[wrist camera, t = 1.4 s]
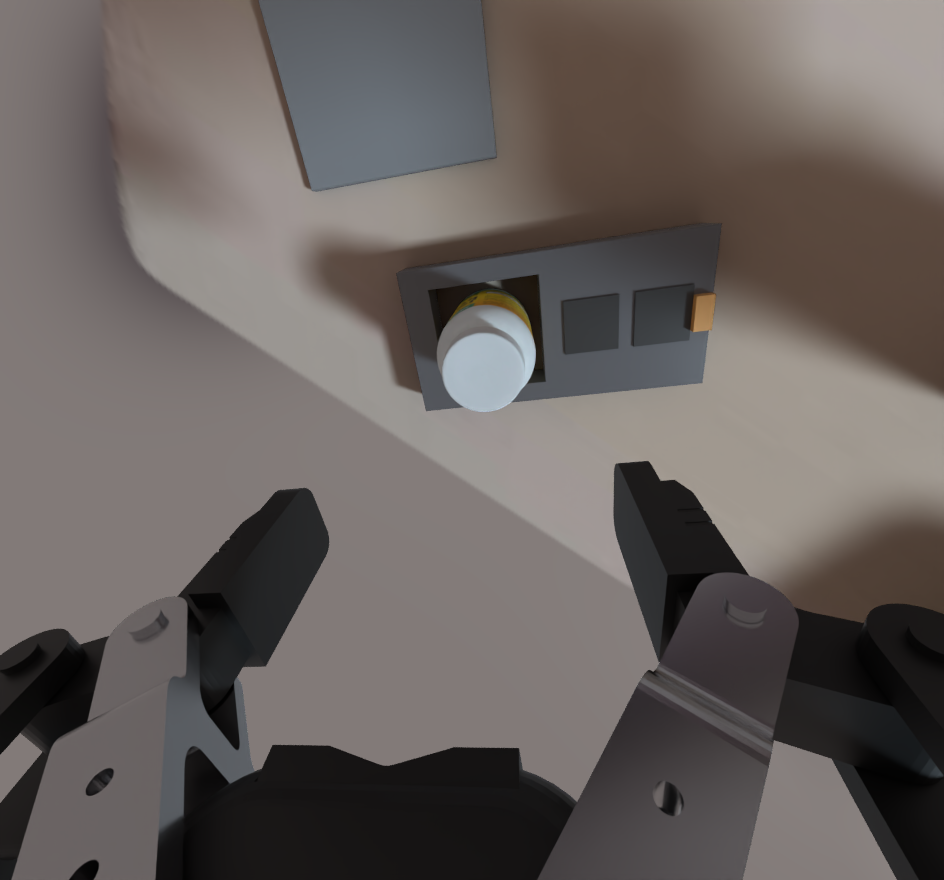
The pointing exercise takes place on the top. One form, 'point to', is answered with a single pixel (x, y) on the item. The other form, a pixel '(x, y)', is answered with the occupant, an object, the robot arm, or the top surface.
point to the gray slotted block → (589, 311)
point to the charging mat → (383, 85)
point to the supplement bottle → (486, 351)
